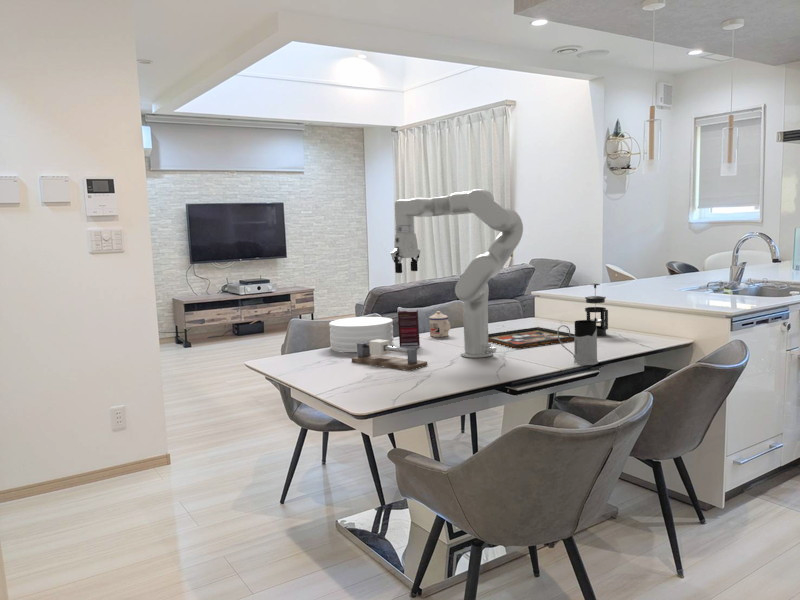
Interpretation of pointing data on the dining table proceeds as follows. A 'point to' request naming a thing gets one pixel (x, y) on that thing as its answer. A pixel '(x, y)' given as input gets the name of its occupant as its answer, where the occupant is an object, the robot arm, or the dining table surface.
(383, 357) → the base board
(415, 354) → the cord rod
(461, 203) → the robot arm
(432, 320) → the teacup with lid
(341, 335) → the plate stack
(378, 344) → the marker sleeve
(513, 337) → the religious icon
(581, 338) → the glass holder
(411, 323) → the supplement box
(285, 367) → the dining table surface
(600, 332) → the french press
